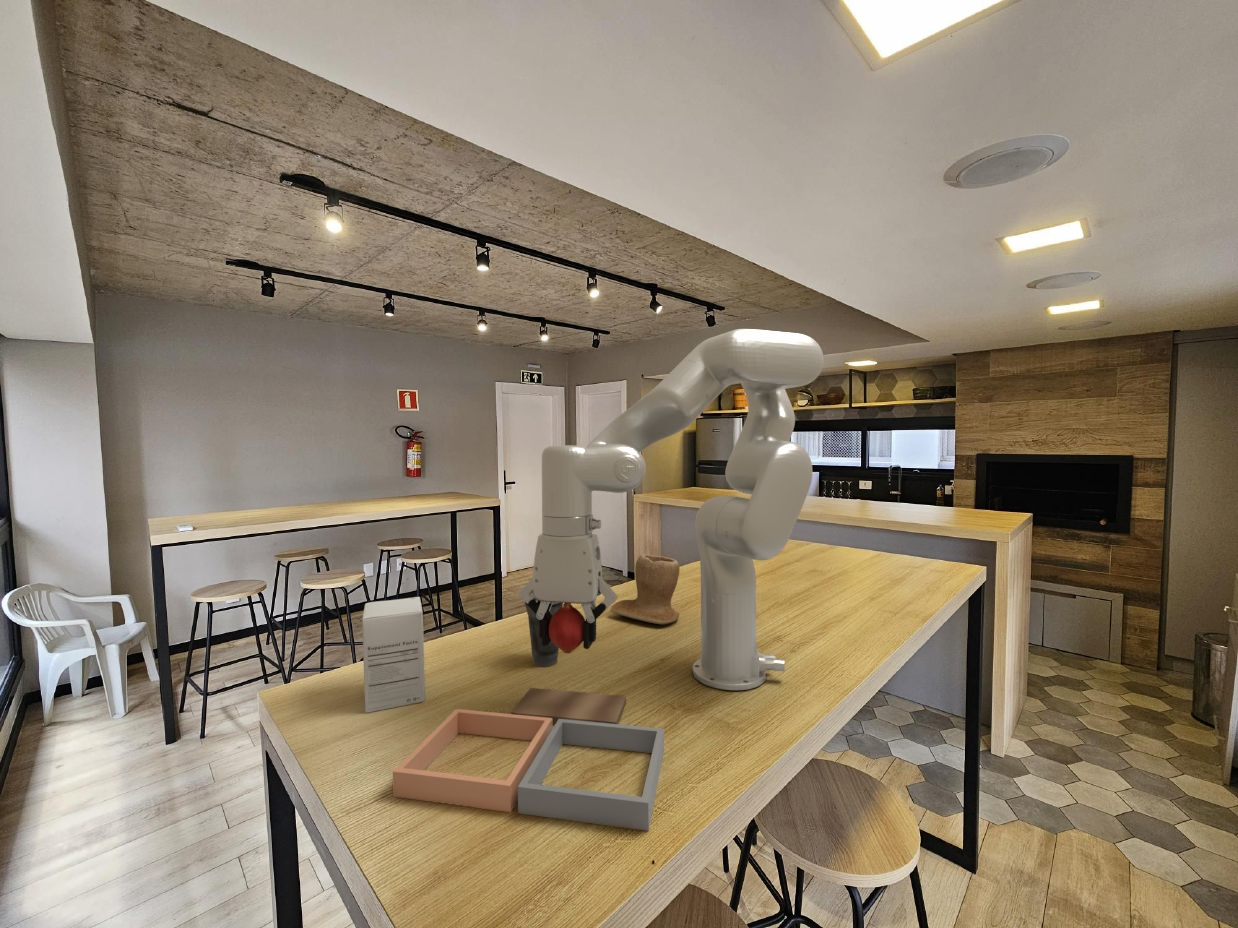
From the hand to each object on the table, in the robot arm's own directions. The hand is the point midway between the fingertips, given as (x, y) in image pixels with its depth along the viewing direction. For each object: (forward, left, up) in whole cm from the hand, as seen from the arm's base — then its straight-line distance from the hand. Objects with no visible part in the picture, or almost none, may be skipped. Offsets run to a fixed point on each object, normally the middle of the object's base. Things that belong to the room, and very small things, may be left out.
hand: (567, 643), depth 79 cm
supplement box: (+30, 0, -11) cm, 32 cm away
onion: (0, 0, -2) cm, 2 cm away
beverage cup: (+10, -17, -11) cm, 23 cm away
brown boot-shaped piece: (-6, -45, -11) cm, 47 cm away
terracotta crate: (+7, +15, -11) cm, 20 cm away
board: (0, 0, -11) cm, 11 cm away
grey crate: (-8, +15, -11) cm, 20 cm away
